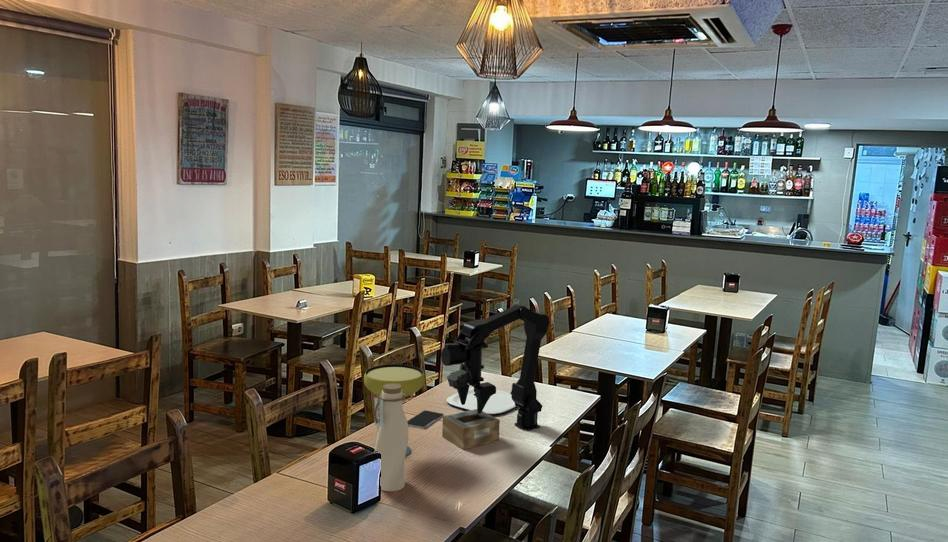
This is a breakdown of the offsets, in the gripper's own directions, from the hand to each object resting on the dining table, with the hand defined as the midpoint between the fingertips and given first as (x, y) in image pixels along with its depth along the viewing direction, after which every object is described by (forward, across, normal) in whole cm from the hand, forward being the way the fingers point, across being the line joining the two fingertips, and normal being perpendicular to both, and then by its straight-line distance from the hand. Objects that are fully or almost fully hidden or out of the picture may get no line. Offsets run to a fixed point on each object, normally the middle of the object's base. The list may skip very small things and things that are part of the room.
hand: (471, 408), depth 217 cm
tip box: (+10, 0, 0) cm, 10 cm away
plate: (+11, -26, +25) cm, 38 cm away
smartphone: (+11, -22, -4) cm, 25 cm away
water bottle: (+10, +16, -38) cm, 42 cm away
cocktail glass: (+10, -4, -26) cm, 28 cm away
